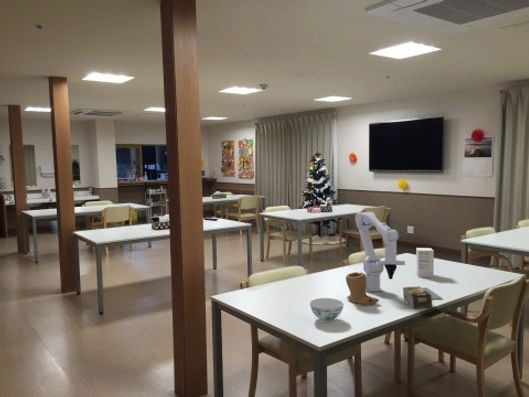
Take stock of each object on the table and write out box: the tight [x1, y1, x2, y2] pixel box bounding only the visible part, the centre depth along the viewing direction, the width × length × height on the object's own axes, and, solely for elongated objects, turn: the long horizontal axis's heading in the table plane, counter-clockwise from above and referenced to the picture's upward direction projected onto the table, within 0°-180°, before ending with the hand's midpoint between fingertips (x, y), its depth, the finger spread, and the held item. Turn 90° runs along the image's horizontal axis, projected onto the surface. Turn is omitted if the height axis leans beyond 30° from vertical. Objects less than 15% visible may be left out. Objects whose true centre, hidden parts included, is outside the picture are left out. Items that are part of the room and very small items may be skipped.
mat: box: [422, 287, 443, 301], centre depth 233 cm, size 11×20×1 cm, turn 1°
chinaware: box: [309, 297, 345, 323], centre depth 196 cm, size 15×15×8 cm
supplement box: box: [415, 247, 435, 278], centre depth 271 cm, size 10×9×17 cm
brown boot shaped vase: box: [345, 272, 380, 306], centre depth 220 cm, size 15×12×15 cm
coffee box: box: [402, 285, 433, 309], centre depth 217 cm, size 9×6×16 cm
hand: (390, 278), depth 227 cm, fingers closed
